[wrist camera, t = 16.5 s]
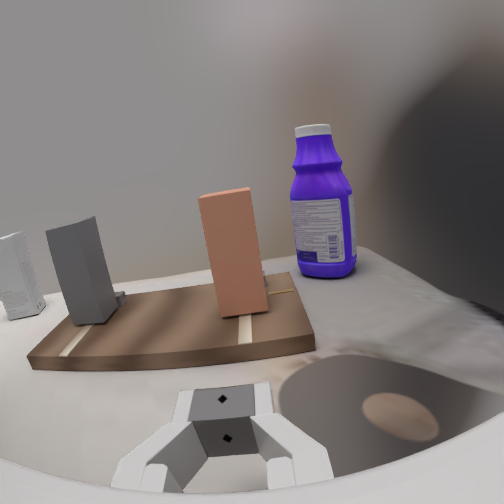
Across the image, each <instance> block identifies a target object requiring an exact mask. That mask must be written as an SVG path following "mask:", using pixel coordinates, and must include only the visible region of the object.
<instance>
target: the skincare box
mask: <svg viewBox="0 0 504 504" xmlns="http://www.w3.org/2000/svg"><path fill="white" fill-rule="evenodd" d="M0 297H1V300H2V302H3V305H4V307H5V310H6V312H7V315H8V317H9V319H10V320H13V319H18V318H22V317H27V316H32V315H36V314H39V313H40V312H41V311H42V309H43V308H44V307H45V306H46V303H45V300H44V298H43V295H42V292H41V289H40V286H39V284H38V281H37V278H36V275H35V272H34V268H33V265H32V262H31V259H30V255H29V252H28V248H27V245H26V241H25V237H24V233H23V231H22V232H18V233H14V234H11V235H8V236H5V237H2V238H0Z"/></svg>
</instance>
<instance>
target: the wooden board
mask: <svg viewBox="0 0 504 504" xmlns="http://www.w3.org/2000/svg"><path fill="white" fill-rule="evenodd" d="M263 278H264V285H265V291H266V298H267V304H268V311H262V312H255V313H248V314H241V315H234V316H227V317H221V314H220V309H219V304H218V300H217V295H216V290H215V285H214V283H212V284H205V285H198V286H190V287H183V288H176V289H168V290H161V291H153V292H146V293H138V294H130V295H125V292H124V291H121V292H114V293H115V297H116V300H117V303H118V307H117V308H116V309H115V311H114V312H113V313H112V314H111V315H110V316H109V318H108V319H107V320H106V321H105V322H104V323H92V324H78V325H73V322H72V319H71V317H70V314H69V315H68V316H67V317H66V318H65V319H64V320H63V321H62V322H61V323H59V324H58V325H57V326H56V327H55V328H54V329H53V330H52V331H51V332H50V333H49V334H48V335H47V336H46V337H45V338H44V339H43V340H42V341H41V342H40V343H39V344H38V345H37V346H36V347H35V348H34V349H33V350H32V351H31V352H30V353H29V354H28V355H27V358H28V360H29V363H30V365H31V367H32V369H40V370H64V371H127V370H152V369H169V368H183V367H196V366H207V365H216V364H226V363H234V362H243V361H250V360H258V359H265V358H272V357H278V356H285V355H291V354H297V353H302V352H308V351H314V350H315V337H314V331H313V329H312V326H311V324H310V321H309V319H308V316H307V314H306V312H305V309H304V307H303V304H302V302H301V299H300V297H299V294H298V292H297V289H296V287H295V284H294V282H293V280H292V277H291V275H290V272H285V273H278V274H272V275H265V273H264V271H263Z"/></svg>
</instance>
